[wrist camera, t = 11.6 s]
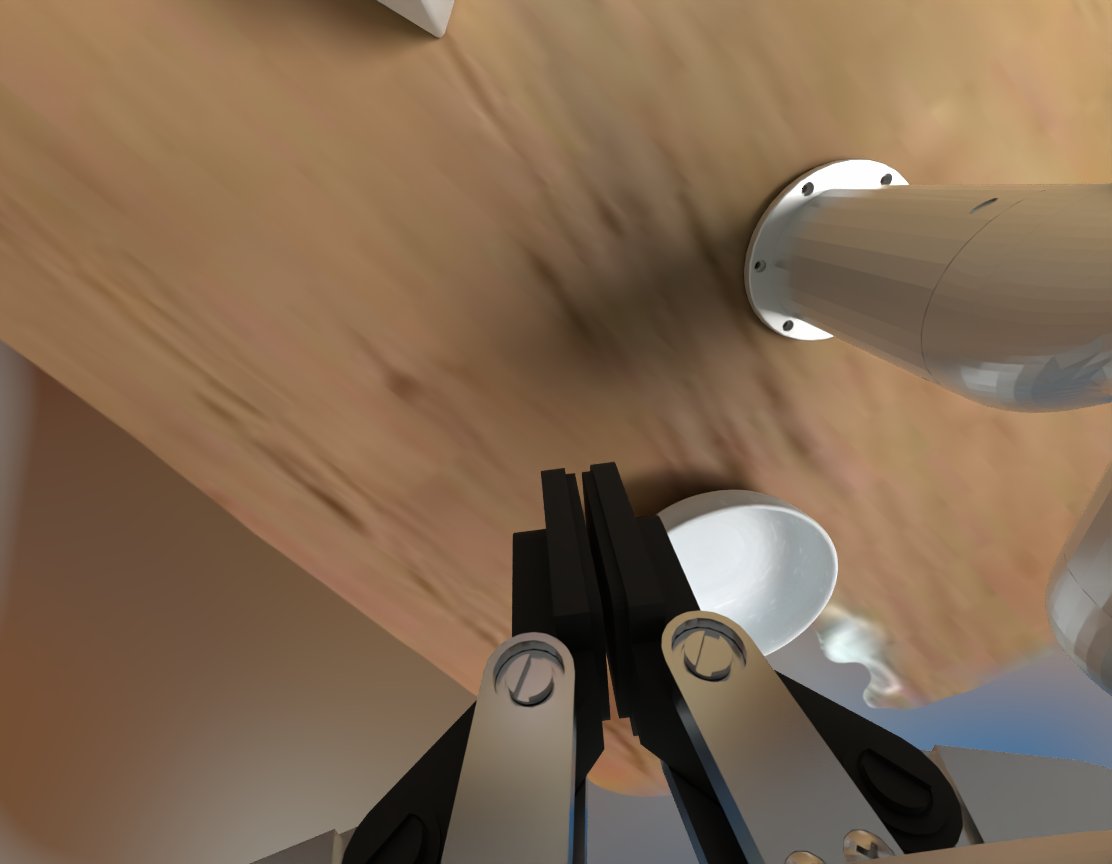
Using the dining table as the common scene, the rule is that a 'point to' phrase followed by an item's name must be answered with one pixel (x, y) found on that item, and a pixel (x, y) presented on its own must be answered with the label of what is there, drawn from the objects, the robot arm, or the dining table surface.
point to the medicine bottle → (424, 13)
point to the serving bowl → (754, 561)
